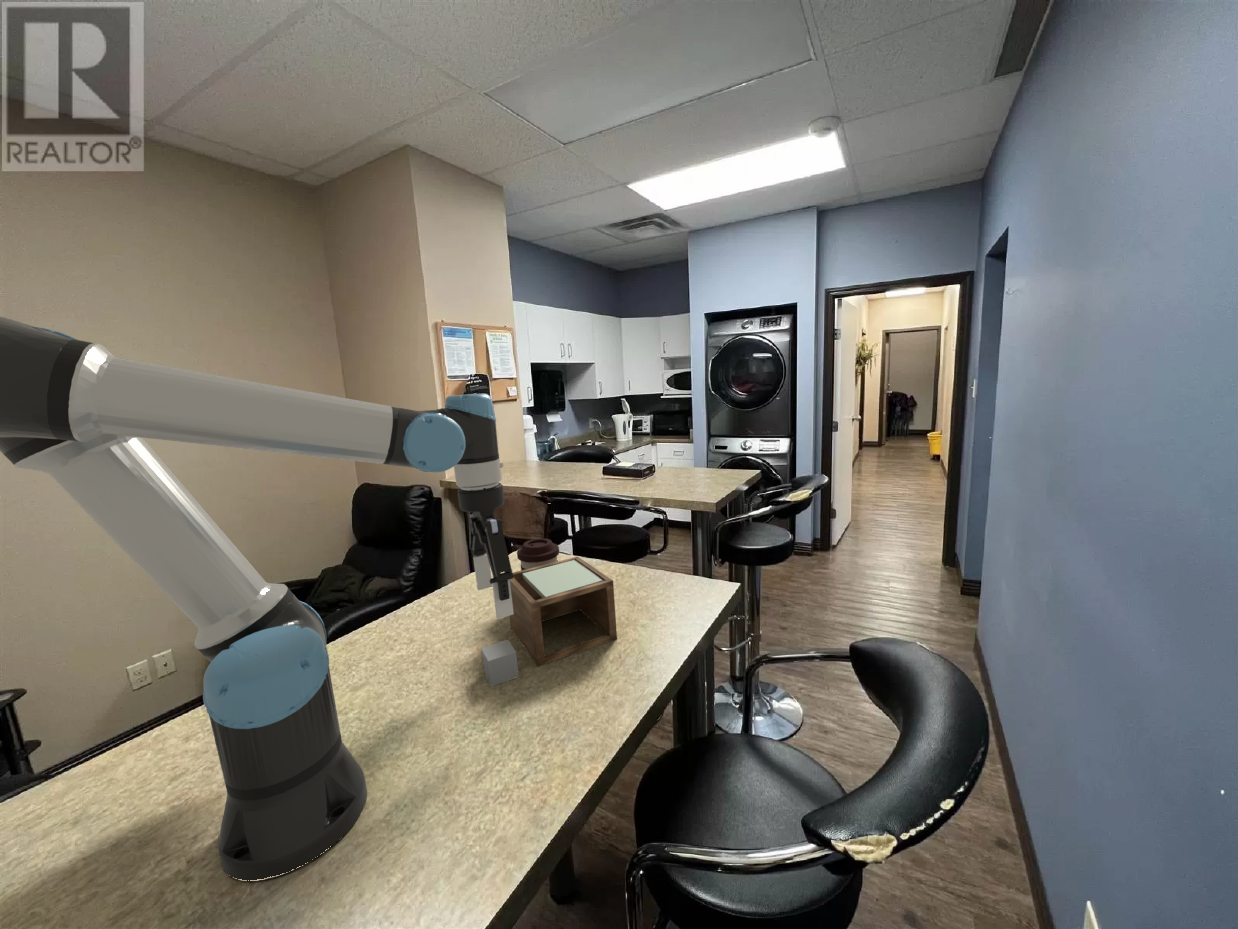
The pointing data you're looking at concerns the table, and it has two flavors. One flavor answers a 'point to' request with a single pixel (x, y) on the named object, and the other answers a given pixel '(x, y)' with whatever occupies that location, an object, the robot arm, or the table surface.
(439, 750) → the table surface
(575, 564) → the trapdoor
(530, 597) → the box frame
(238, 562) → the robot arm
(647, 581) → the table surface
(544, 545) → the coffee cup
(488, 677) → the block
